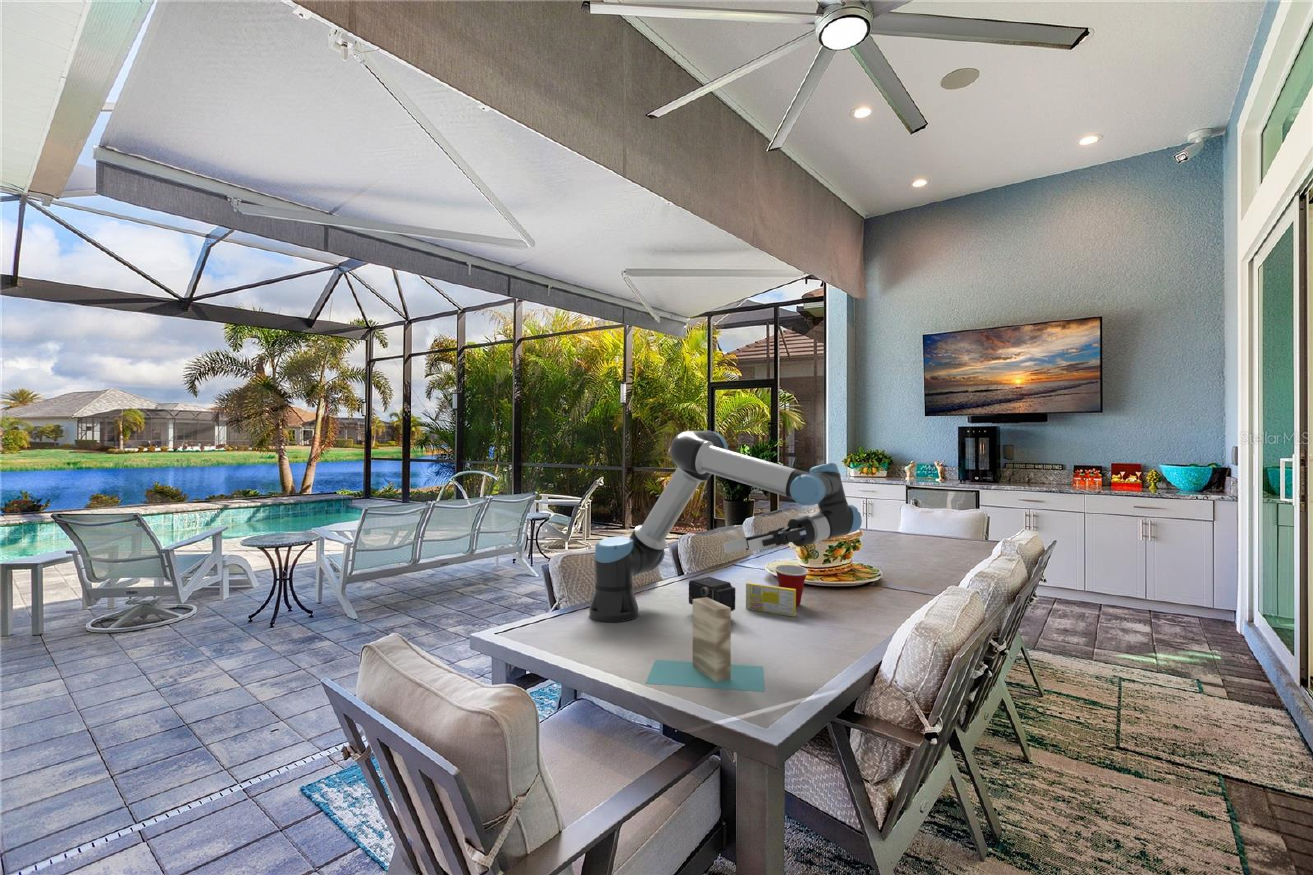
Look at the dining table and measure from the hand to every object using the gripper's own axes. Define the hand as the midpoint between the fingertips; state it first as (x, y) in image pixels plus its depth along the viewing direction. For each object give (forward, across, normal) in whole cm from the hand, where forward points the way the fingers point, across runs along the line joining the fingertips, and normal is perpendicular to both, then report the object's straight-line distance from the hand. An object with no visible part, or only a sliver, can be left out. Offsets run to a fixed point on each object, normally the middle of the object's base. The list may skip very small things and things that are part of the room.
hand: (736, 547), depth 146 cm
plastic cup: (-36, +42, -26) cm, 60 cm away
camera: (-6, +40, -21) cm, 46 cm away
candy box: (-25, +37, -25) cm, 51 cm away
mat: (+16, -1, -27) cm, 31 cm away
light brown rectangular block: (+14, 0, -26) cm, 30 cm away
